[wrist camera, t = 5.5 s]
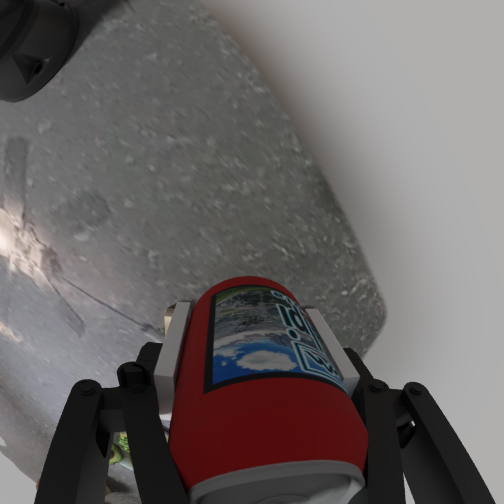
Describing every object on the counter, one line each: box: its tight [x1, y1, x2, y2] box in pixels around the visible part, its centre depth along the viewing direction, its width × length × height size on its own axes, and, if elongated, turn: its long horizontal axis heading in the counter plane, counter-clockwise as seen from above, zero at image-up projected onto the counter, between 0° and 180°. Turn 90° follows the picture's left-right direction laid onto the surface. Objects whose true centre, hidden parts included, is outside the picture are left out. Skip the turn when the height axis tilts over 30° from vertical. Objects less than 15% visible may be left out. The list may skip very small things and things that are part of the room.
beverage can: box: [168, 276, 368, 504], centre depth 11 cm, size 7×7×12 cm
